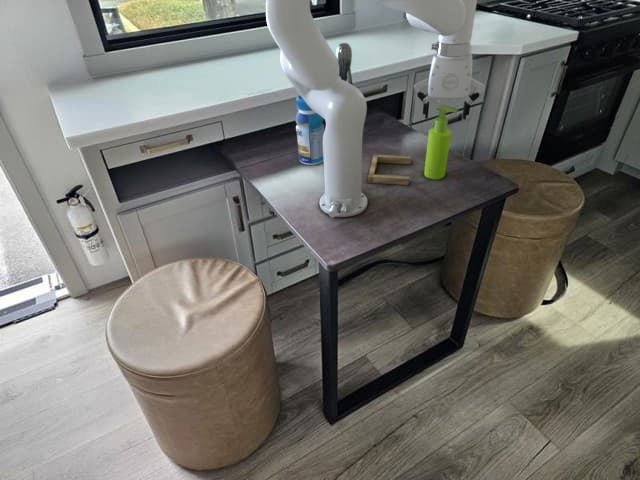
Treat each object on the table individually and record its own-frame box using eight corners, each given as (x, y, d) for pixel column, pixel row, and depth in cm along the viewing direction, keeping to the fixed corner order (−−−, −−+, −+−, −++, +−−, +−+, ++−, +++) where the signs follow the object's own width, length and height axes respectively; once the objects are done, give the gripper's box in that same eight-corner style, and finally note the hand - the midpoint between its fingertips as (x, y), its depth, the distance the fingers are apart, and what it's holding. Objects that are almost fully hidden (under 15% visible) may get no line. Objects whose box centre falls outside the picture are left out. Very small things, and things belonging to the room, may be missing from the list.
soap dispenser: (444, 181, 120) (455, 112, 108) (421, 176, 123) (428, 108, 111) (451, 172, 124) (461, 105, 112) (427, 167, 127) (435, 101, 115)
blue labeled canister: (324, 165, 131) (321, 101, 119) (297, 166, 132) (291, 102, 120) (326, 153, 138) (323, 91, 126) (300, 153, 139) (294, 92, 126)
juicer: (355, 129, 151) (355, 38, 133) (354, 143, 143) (354, 47, 124) (327, 129, 152) (324, 39, 134) (324, 143, 144) (321, 48, 125)
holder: (408, 185, 120) (409, 178, 119) (368, 182, 122) (368, 176, 121) (410, 162, 131) (411, 156, 129) (373, 160, 133) (373, 154, 132)
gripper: (416, 53, 102) (411, 122, 112) (493, 52, 98) (480, 123, 109) (417, 45, 107) (412, 111, 118) (489, 44, 104) (478, 112, 115)
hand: (445, 117), depth 113 cm, fingers open, 9 cm apart
